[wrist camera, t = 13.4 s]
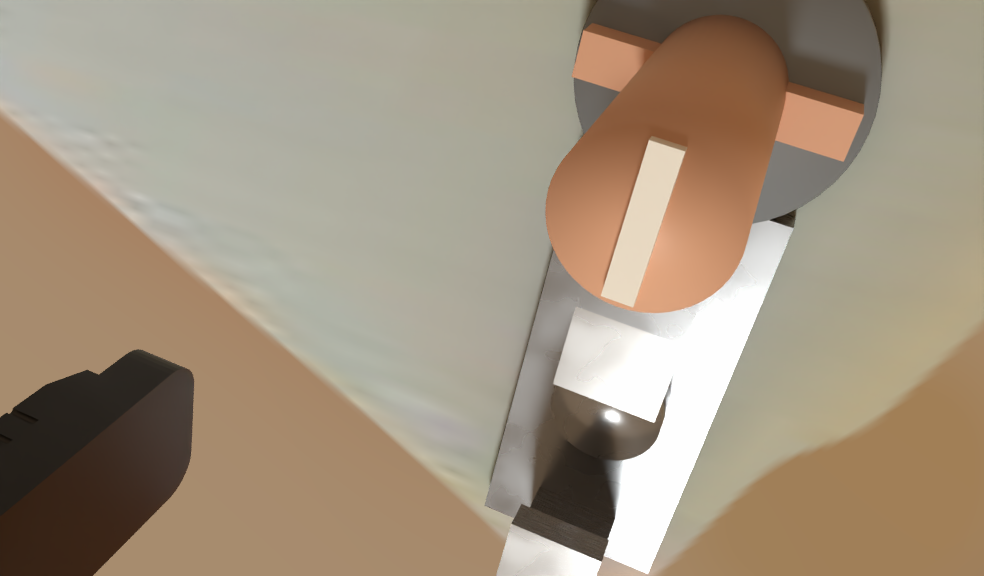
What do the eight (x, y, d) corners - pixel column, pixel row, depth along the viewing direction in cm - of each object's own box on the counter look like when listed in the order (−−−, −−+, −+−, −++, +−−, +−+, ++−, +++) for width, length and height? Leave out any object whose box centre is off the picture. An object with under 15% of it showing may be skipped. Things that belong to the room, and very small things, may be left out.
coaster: (554, 164, 35) (545, 174, 34) (625, -112, 30) (617, -109, 29) (812, 250, 33) (810, 264, 32) (935, -29, 28) (938, -23, 27)
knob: (604, -22, 30) (470, 68, 20) (883, 59, 29) (891, 203, 18) (570, 108, 33) (436, 248, 23) (826, 190, 31) (806, 382, 21)
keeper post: (491, 492, 44) (434, 597, 38) (585, 148, 35) (528, 218, 29) (651, 558, 42) (617, 679, 37) (795, 217, 33) (779, 306, 27)
